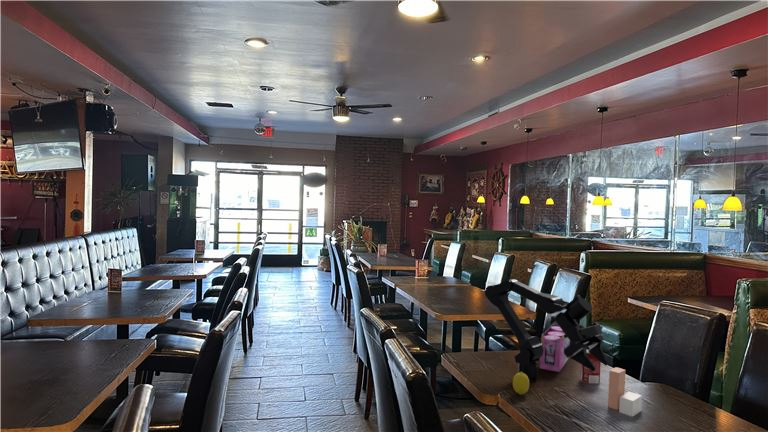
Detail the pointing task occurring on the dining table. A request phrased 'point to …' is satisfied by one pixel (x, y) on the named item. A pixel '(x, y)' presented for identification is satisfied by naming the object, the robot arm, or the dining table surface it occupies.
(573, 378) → the dining table surface
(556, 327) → the gum box
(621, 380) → the stub
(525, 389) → the lemon
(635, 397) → the white long block
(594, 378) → the soda can
